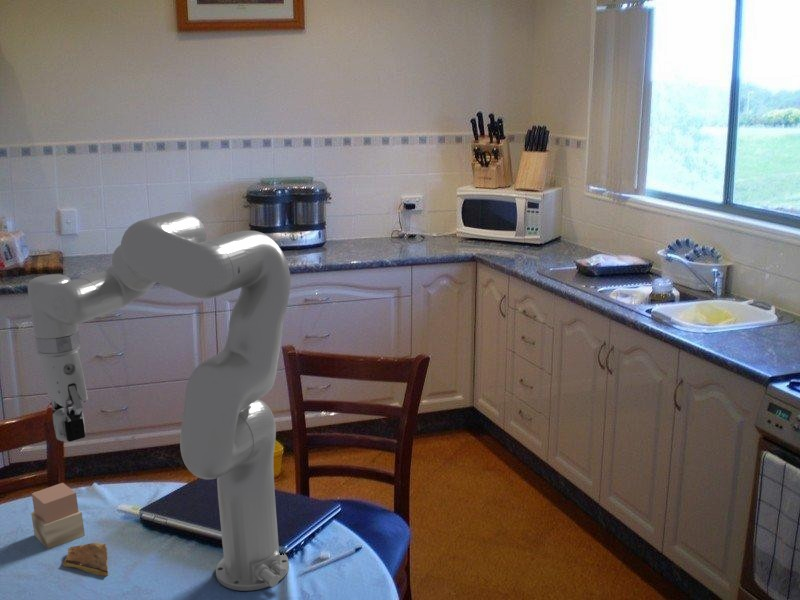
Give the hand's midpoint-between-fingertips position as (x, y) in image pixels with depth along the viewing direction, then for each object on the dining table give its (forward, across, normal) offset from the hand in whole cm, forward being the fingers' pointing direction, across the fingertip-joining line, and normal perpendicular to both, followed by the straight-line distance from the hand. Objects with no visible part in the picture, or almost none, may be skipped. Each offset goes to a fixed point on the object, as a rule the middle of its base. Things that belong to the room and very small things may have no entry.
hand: (70, 433), depth 164 cm
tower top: (+15, 0, +4) cm, 15 cm away
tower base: (+20, 0, +5) cm, 20 cm away
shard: (+20, -13, +2) cm, 24 cm away
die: (+1, 0, 0) cm, 1 cm away
